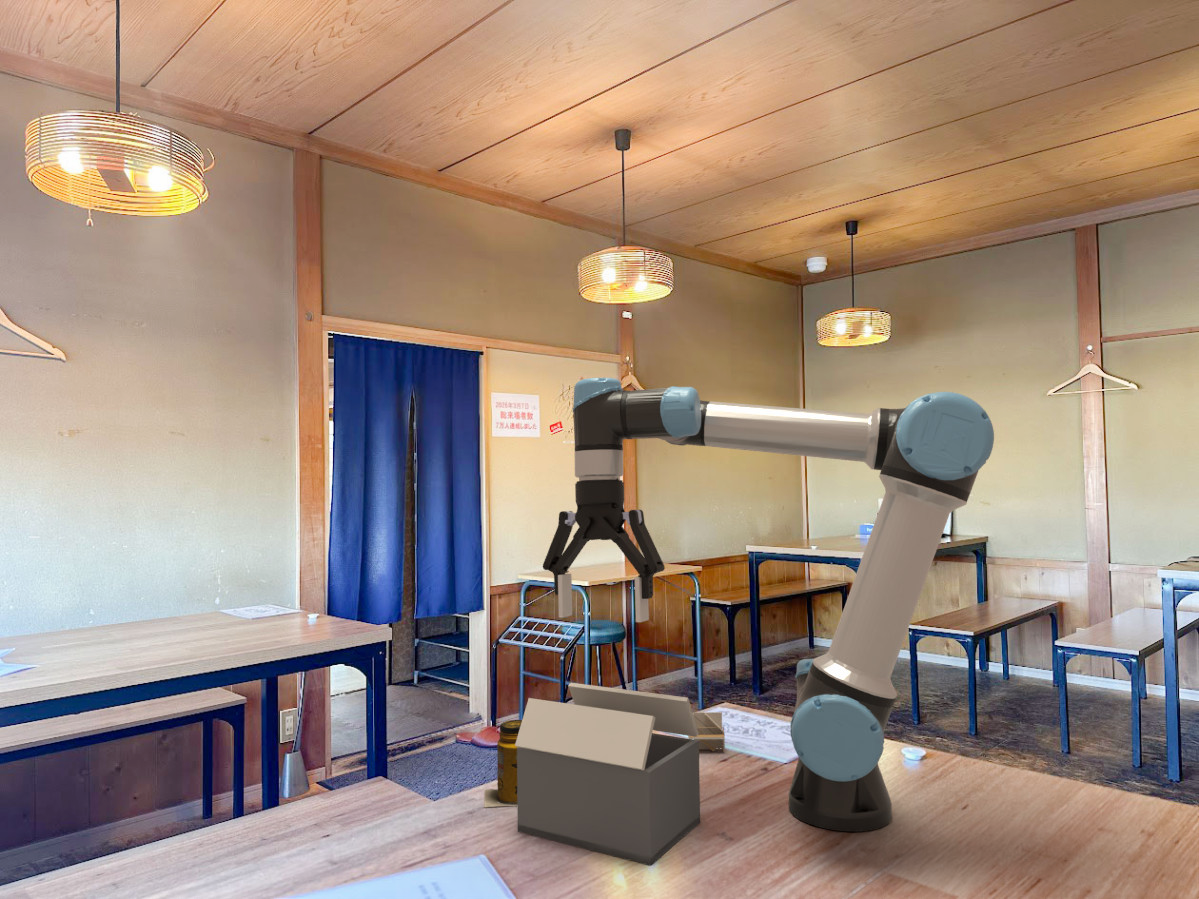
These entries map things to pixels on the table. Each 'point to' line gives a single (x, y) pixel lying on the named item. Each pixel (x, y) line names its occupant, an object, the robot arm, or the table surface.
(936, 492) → the robot arm
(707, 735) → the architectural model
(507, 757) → the condiment
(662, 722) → the far flap
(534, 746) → the near flap
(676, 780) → the carton
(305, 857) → the table surface
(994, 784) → the table surface
